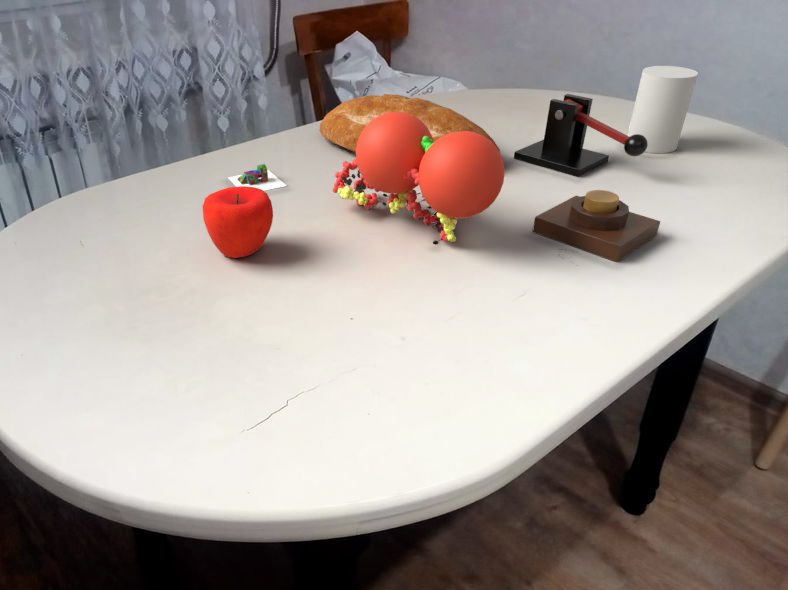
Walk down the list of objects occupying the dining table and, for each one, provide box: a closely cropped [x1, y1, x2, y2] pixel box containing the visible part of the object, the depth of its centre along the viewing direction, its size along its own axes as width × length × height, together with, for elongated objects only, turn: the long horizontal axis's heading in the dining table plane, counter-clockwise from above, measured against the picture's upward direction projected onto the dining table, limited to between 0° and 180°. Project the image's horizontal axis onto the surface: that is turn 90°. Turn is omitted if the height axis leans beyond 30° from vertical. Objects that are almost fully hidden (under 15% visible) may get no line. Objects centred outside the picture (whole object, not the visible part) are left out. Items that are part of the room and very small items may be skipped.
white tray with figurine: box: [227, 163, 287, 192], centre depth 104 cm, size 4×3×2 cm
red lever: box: [565, 99, 648, 158], centre depth 101 cm, size 15×3×3 cm, turn 42°
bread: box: [318, 93, 501, 154], centre depth 112 cm, size 18×35×9 cm, turn 51°
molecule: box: [332, 112, 506, 246], centre depth 86 cm, size 25×11×15 cm, turn 49°
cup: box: [626, 65, 699, 154], centre depth 110 cm, size 8×8×12 cm
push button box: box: [532, 195, 661, 263], centre depth 85 cm, size 12×10×4 cm
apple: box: [202, 186, 274, 259], centre depth 83 cm, size 9×9×8 cm
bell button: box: [583, 189, 620, 214], centre depth 84 cm, size 4×4×2 cm
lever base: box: [513, 93, 610, 178], centre depth 106 cm, size 12×9×10 cm
